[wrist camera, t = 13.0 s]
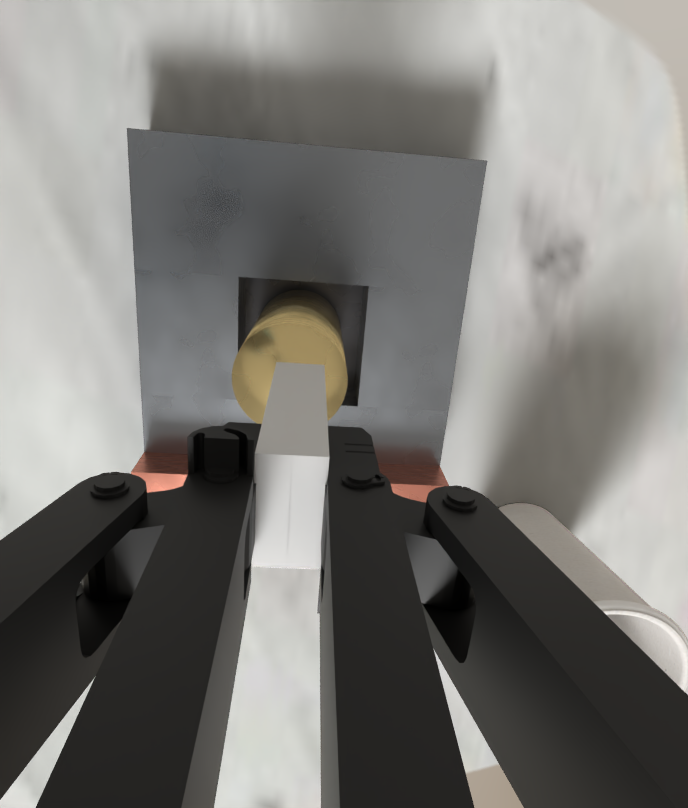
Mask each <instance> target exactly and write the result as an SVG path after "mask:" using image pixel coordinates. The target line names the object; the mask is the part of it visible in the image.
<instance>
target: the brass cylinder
mask: <svg viewBox="0 0 688 808" xmlns="http://www.w3.org/2000/svg"><path fill="white" fill-rule="evenodd" d="M276 362H285V363H301V364H317V365H324V366H325V385H326V403H327V421H328V420H330V419H331V418H332V417H333V416H334V415H335V413H336V412H337V411H338V409H339V408H340V406H341V404H342V402H343V400H344V398H345V394H346V391H347V383H348V376H347V368H346V361H345V354H344V347H343V340H342V333H341V326H340V321H339V318H338V316H337V313H336V311H335V310H334V308H333V307H332V306H331V304H330V303H329V302H328V301H327V300H325V299H324V298H323V297H321V296H320V295H318V294H316V293H313V292H310V291H306V290H291V291H287V292H284V293H281V294H279V295H278V296H276V297H274V298H273V299H272V300H271V301H270V302H269V303H268V304H267V305H266V306H265V308H264V309H263V311H262V313H261V314H260V316H259V318H258V319H257V321H256V323H255V325H254V326H253V328H252V330H251V331H250V333H249V335H248V336H247V338H246V340H245V341H244V343H243V345H242V346H241V348H240V350H239V352H238V354H237V355H236V358H235V361H234V364H233V368H232V386H233V391H234V394H235V397H236V399H237V402H238V404H239V405H240V407H241V408H242V410H243V411H244V412H245V413H246V415H247V416H248V417H249V418H251V419H252V420H253V421H254V422H255V423H258V424H262V421H263V417H264V412H265V408H266V404H267V400H268V396H269V391H270V387H271V383H272V379H273V375H274V370H275V366H276Z"/></svg>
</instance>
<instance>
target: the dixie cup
mask: <svg viewBox="0 0 688 808" xmlns="http://www.w3.org/2000/svg"><path fill="white" fill-rule="evenodd" d="M498 509H499V510H500V511H501V512H502V513H503V514H504V515H505V516H506V517H507V518H508V519H509V520H510V521H511V522H512V523H513V524H514V525H515V526H516V527H518V528H519V529H520V530H521V531H522V532H523V533H524V534H525V535H526V536H527V537H528V538H529V539H530V540H531V541H532V542H533V543H534V544H535V545H536V546H537V547H538V548H539V549H540V550H541V551H542V552H543V553H544V554H545V555H546V556H547V557H548V558H549V559H550V560H551V561H552V562H553V563H554V564H555V565H556V566H557V567H558V568H559V569H560V570H561V571H562V572H563V573H564V574H565V575H566V576H567V577H568V578H569V579H570V580H571V581H572V582H573V583H574V584H575V585H576V586H578V587H579V588H580V589H581V590H582V591H583V592H584V593H585V594H586V595H587V596H588V597H589V598H590V599H591V600H592V601H593V602H594V603H595V604H596V605H597V606H598V607H599V608H600V609H601V610H602V611H603V612H604V613H605V614H606V615H607V616H608V617H609V618H610V619H611V620H612V621H613V622H614V623H615V624H616V625H617V626H618V627H619V628H620V629H621V630H622V631H623V632H624V633H625V634H626V635H627V636H628V637H629V638H630V639H631V640H632V641H633V642H634V643H635V644H636V645H638V646H639V647H640V648H641V649H642V650H643V651H644V652H645V653H646V654H647V655H648V656H649V657H650V658H651V659H652V660H653V661H654V662H655V663H656V664H657V665H658V666H659V667H660V668H661V669H662V670H663V671H664V672H665V673H666V674H667V675H668V676H669V677H670V678H671V679H672V680H673V681H674V682H675V683H676V684H677V685H678V686H679V687H680V688H681V689H682V690H683V691H684V692H686V690H687V688H688V640H687V638H686V636H685V634H684V633H683V631H682V630H681V628H680V627H679V626H678V625H677V624H676V623H675V622H674V621H673V620H672V619H671V618H669V617H668V616H667V615H665V614H664V613H662V612H660V611H658V610H656V609H654V608H652V607H650V606H649V605H648V604H647V603H646V602H645V601H644V600H643V599H642V598H641V597H640V596H639V595H638V594H637V593H635V592H634V591H633V590H632V589H631V588H630V587H629V586H628V585H627V584H626V583H625V582H624V581H623V580H622V579H620V578H619V577H618V576H617V575H616V574H615V573H614V572H613V571H612V570H611V569H610V568H609V567H608V566H607V565H605V564H604V563H603V562H602V561H601V560H600V559H599V558H598V557H597V556H596V555H595V554H594V553H593V552H592V551H590V550H589V549H588V548H587V547H586V546H585V545H584V544H583V543H582V542H581V541H580V540H579V539H578V538H576V537H575V536H574V535H573V534H572V533H571V532H570V531H569V530H568V529H567V528H566V527H565V526H564V525H563V524H561V523H560V522H559V521H558V520H557V519H556V518H555V517H554V516H553V515H552V514H551V513H550V512H548V511H547V510H545V509H544V508H542V507H540V506H537V505H534V504H528V503H514V504H508V505H504V506H501V507H499V508H498Z"/></svg>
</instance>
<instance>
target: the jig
mask: <svg viewBox="0 0 688 808" xmlns="http://www.w3.org/2000/svg"><path fill="white" fill-rule="evenodd" d="M127 139H128V158H129V176H130V195H131V213H132V232H133V250H134V269H135V287H136V306H137V324H138V343H139V361H140V380H141V398H142V417H143V435H144V453H143V455H142V456H141V458H140V459H139V461H138V463H137V464H136V466H135V467H134V469H133V470H132V472H131V474H133V475H136V476H139V477H141V478H142V479H143V480H144V481H146V487H147V493H148V492H157V491H164V490H170V489H175V488H178V487H181V486H183V484H184V482H185V479H186V477H187V475H188V447H187V437H188V436H189V435H190V434H191V433H192V432H193V431H196V430H198V429H201V428H205V427H210V426H224V425H225V424H227V423H228V422H239V423H255V422H254V421H253V420H252V419H251V418H249V417H248V416H247V415H246V413H245V412H244V411H243V410H242V408H241V407H240V405H239V404H238V402H237V399H236V397H235V394H234V391H233V386H232V368H233V364H234V361H235V358H236V355H237V354H238V352H239V350H240V348H241V346H242V345H243V343H244V341H245V340H246V338H247V336H248V335H249V333H250V331H251V330H252V328H253V326H254V325H255V323H256V321H257V319H258V318H259V316H260V314H261V313H262V311H263V309H264V308H265V306H266V305H267V304H268V303H269V302H270V301H271V300H272V299H273V298H274V297H276V296H278V295H279V294H281V293H284V292H287V291H291V290H306V291H310V292H313V293H316V294H318V295H320V296H321V297H323V298H324V299H325V300H327V301H328V302H329V303H330V304H331V306H332V307H333V308H334V310H335V311H336V313H337V316H338V318H339V321H340V326H341V333H342V340H343V347H344V354H345V361H346V368H347V376H348V383H347V391H346V394H345V398H344V400H343V402H342V404H341V406H340V408H339V409H338V411H337V412H336V413H335V415H334V416H333V417H332V418H331V419H330V420H328V426H341V427H360V428H363V429H364V430H365V431H366V432H368V433H369V434H370V435H371V436H372V441H373V446H374V449H375V454H376V458H377V462H378V466H379V470H380V473H382V474H383V475H385V476H386V477H387V478H388V480H389V481H390V483H391V487H392V491H393V493H395V494H397V495H399V496H402V497H405V498H408V499H412V500H416V501H420V502H425V503H426V500H427V496H428V493H429V492H430V491H431V490H433V489H435V488H438V487H443V486H449V485H448V483H447V480H446V478H445V476H444V474H443V472H442V470H441V468H440V461H441V454H442V448H443V441H444V435H445V429H446V422H447V416H448V409H449V403H450V396H451V390H452V384H453V377H454V371H455V364H456V358H457V351H458V345H459V338H460V332H461V326H462V319H463V313H464V306H465V300H466V293H467V287H468V280H469V274H470V268H471V261H472V255H473V248H474V242H475V235H476V229H477V223H478V216H479V210H480V203H481V197H482V190H483V184H484V177H485V171H486V165H487V161H484V160H473V159H462V158H451V157H440V156H429V155H418V154H407V153H395V152H384V151H373V150H362V149H351V148H340V147H329V146H318V145H307V144H296V143H285V142H274V141H263V140H252V139H241V138H230V137H219V136H208V135H197V134H186V133H175V132H164V131H153V130H142V129H131V128H127Z"/></svg>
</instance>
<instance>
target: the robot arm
mask: <svg viewBox="0 0 688 808" xmlns="http://www.w3.org/2000/svg"><path fill="white" fill-rule="evenodd" d="M187 447H188V475H187V477H186V479H185V482H184V484H183V486H181V487H178V488H175V489H170V490H164V491H157V492H148V493H147V487H146V481H144V480H143V479H142V478H141V477H139V476H136V475H133V474H129V473H120V472H111V473H102V474H100V475H98V476H94V477H90V478H88V479H86V480H84V481H82V482H80V483H79V484H77V485H76V486H74V487H73V488H72V489H70V490H69V491H68V492H66V493H65V494H63V495H62V496H61V497H59V498H58V499H57V500H55V501H54V502H52V503H51V504H50V505H48V506H47V507H46V508H44V509H43V510H41V511H40V512H39V513H37V514H36V515H35V516H33V517H32V518H30V519H29V520H28V521H26V522H25V523H24V524H22V525H21V526H19V527H18V528H17V529H15V530H14V531H13V532H11V533H10V534H8V535H7V536H6V537H4V538H3V539H2V540H0V799H1V798H2V797H3V796H4V794H5V793H6V792H7V790H8V789H9V788H10V786H11V785H12V784H13V783H14V781H15V780H16V779H17V777H18V776H19V775H20V773H21V772H22V771H23V770H24V768H25V767H26V766H27V764H28V763H29V762H30V760H31V759H32V758H33V757H34V755H35V754H36V753H37V751H38V750H39V749H40V747H41V746H42V745H43V744H44V742H45V741H46V740H47V738H48V737H49V736H50V735H51V733H52V732H53V731H54V729H55V728H56V727H57V725H58V724H59V723H60V722H61V720H62V719H63V718H64V716H65V715H66V714H67V712H68V711H69V710H70V709H71V707H72V706H73V705H74V703H75V702H76V701H77V699H78V698H79V697H80V696H81V694H82V693H83V692H84V690H85V689H86V688H87V686H88V685H89V684H90V683H91V681H92V680H93V679H94V677H95V676H96V677H95V679H94V681H93V683H92V686H91V688H90V690H89V692H88V694H87V696H86V699H85V701H84V703H83V705H82V707H81V710H80V712H79V714H78V716H77V718H76V721H75V723H74V725H73V727H72V729H71V732H70V734H69V736H68V738H67V740H66V743H65V745H64V747H63V749H62V751H61V753H60V756H59V758H58V760H57V762H56V764H55V767H54V769H53V771H52V773H51V775H50V778H49V780H48V782H47V784H46V786H45V789H44V791H43V793H42V795H41V797H40V800H39V802H38V804H37V806H36V808H214V803H215V797H216V791H217V785H218V779H219V772H220V766H221V760H222V754H223V748H224V742H225V736H226V730H227V724H228V718H229V712H230V705H231V699H232V693H233V687H234V681H235V675H236V669H237V663H238V657H239V651H240V644H241V638H242V632H243V626H244V620H245V614H246V608H247V602H248V596H249V590H250V583H251V560H252V567H268V568H297V569H321V572H320V585H319V598H318V612H317V613H320V711H321V808H474V805H473V801H472V797H471V793H470V789H469V786H468V781H467V777H466V773H465V770H464V766H463V762H462V758H461V754H460V750H459V746H458V743H457V739H456V735H455V731H454V727H453V723H452V719H451V715H450V712H449V708H448V704H447V700H446V696H445V692H444V688H443V685H442V681H441V677H440V673H439V669H438V665H437V661H436V657H435V654H434V650H435V652H436V654H437V655H438V657H439V659H440V661H441V662H442V664H443V666H444V668H445V669H446V671H447V673H448V675H449V677H450V678H451V680H452V682H453V684H454V685H455V687H456V689H457V691H458V692H459V694H460V696H461V698H462V699H463V701H464V703H465V705H466V706H467V708H468V710H469V712H470V713H471V715H472V717H473V719H474V720H475V722H476V724H477V726H478V728H479V729H480V731H481V733H482V735H483V736H484V738H485V740H486V742H487V743H488V745H489V747H490V749H491V750H492V752H493V754H494V756H495V757H496V759H497V761H498V763H499V764H500V766H501V768H502V770H503V771H504V773H505V775H506V777H507V779H508V780H509V782H510V784H511V785H512V787H513V789H514V791H515V793H516V794H517V796H518V798H519V800H520V801H521V803H522V805H523V807H524V808H688V695H687V694H686V693H685V692H684V691H683V690H682V689H681V688H680V687H679V686H678V685H677V684H676V683H675V682H674V681H673V680H672V679H671V678H670V677H669V676H668V675H667V674H666V673H665V672H664V671H663V670H662V669H661V668H660V667H659V666H658V665H657V664H656V663H655V662H654V661H653V660H652V659H651V658H650V657H649V656H648V655H647V654H646V653H645V652H644V651H643V650H642V649H641V648H640V647H639V646H638V645H636V644H635V643H634V642H633V641H632V640H631V639H630V638H629V637H628V636H627V635H626V634H625V633H624V632H623V631H622V630H621V629H620V628H619V627H618V626H617V625H616V624H615V623H614V622H613V621H612V620H611V619H610V618H609V617H608V616H607V615H606V614H605V613H604V612H603V611H602V610H601V609H600V608H599V607H598V606H597V605H596V604H595V603H594V602H593V601H592V600H591V599H590V598H589V597H588V596H587V595H586V594H585V593H584V592H583V591H582V590H581V589H580V588H579V587H578V586H576V585H575V584H574V583H573V582H572V581H571V580H570V579H569V578H568V577H567V576H566V575H565V574H564V573H563V572H562V571H561V570H560V569H559V568H558V567H557V566H556V565H555V564H554V563H553V562H552V561H551V560H550V559H549V558H548V557H547V556H546V555H545V554H544V553H543V552H542V551H541V550H540V549H539V548H538V547H537V546H536V545H535V544H534V543H533V542H532V541H531V540H530V539H529V538H528V537H527V536H526V535H525V534H524V533H523V532H522V531H521V530H520V529H519V528H518V527H516V526H515V525H514V524H513V523H512V522H511V521H510V520H509V519H508V518H507V517H506V516H505V515H504V514H503V513H502V512H501V511H500V510H499V509H498V508H497V507H496V506H495V505H494V504H493V503H492V502H491V501H490V500H489V499H488V498H486V497H485V496H483V495H482V494H481V493H478V492H476V491H473V490H471V489H470V488H467V487H462V486H443V487H438V488H435V489H433V490H431V491H430V492H429V493H428V496H427V500H426V503H425V502H420V501H416V500H412V499H408V498H405V497H402V496H399V495H397V494H395V493H393V491H392V487H391V483H390V481H389V480H388V478H387V477H386V476H385V475H383V474H382V473H380V470H379V466H378V462H377V458H376V454H375V449H374V446H373V441H372V436H371V435H370V434H369V433H368V432H366V431H365V430H364V429H363V428H360V427H341V426H328V421H327V403H326V385H325V366H324V365H317V364H301V363H285V362H276V366H275V370H274V375H273V379H272V383H271V387H270V391H269V396H268V400H267V404H266V408H265V412H264V417H263V421H262V424H258V423H239V422H228V423H227V424H225V425H224V426H210V427H205V428H201V429H198V430H196V431H193V432H192V433H191V434H190V435H189V436H188V437H187ZM80 582H81V583H80ZM433 648H434V650H433Z"/></svg>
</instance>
